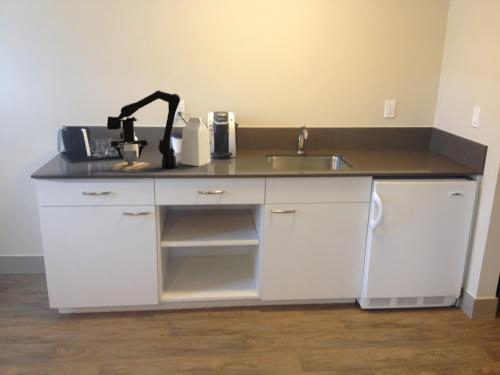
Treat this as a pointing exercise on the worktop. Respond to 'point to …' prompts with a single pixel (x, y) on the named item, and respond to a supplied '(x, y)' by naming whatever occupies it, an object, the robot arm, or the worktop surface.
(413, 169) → the worktop surface
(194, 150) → the milk
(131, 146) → the pill bottle
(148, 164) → the base
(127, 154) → the cap
